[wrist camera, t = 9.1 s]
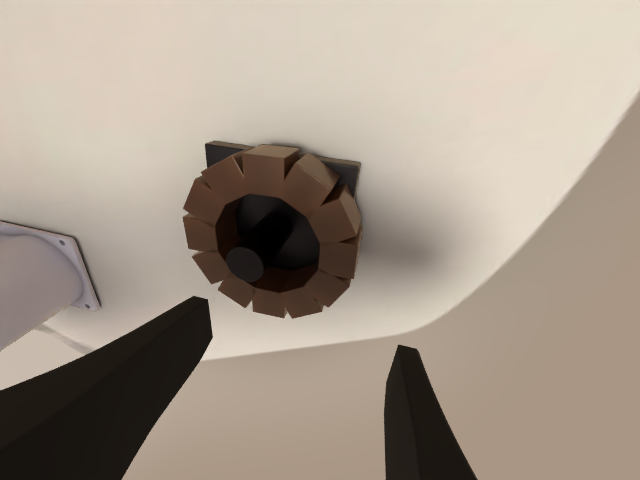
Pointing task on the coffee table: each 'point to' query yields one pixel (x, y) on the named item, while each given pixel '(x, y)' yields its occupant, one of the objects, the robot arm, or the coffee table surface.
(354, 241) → the ring
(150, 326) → the robot arm
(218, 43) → the coffee table surface
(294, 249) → the rack
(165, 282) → the coffee table surface
